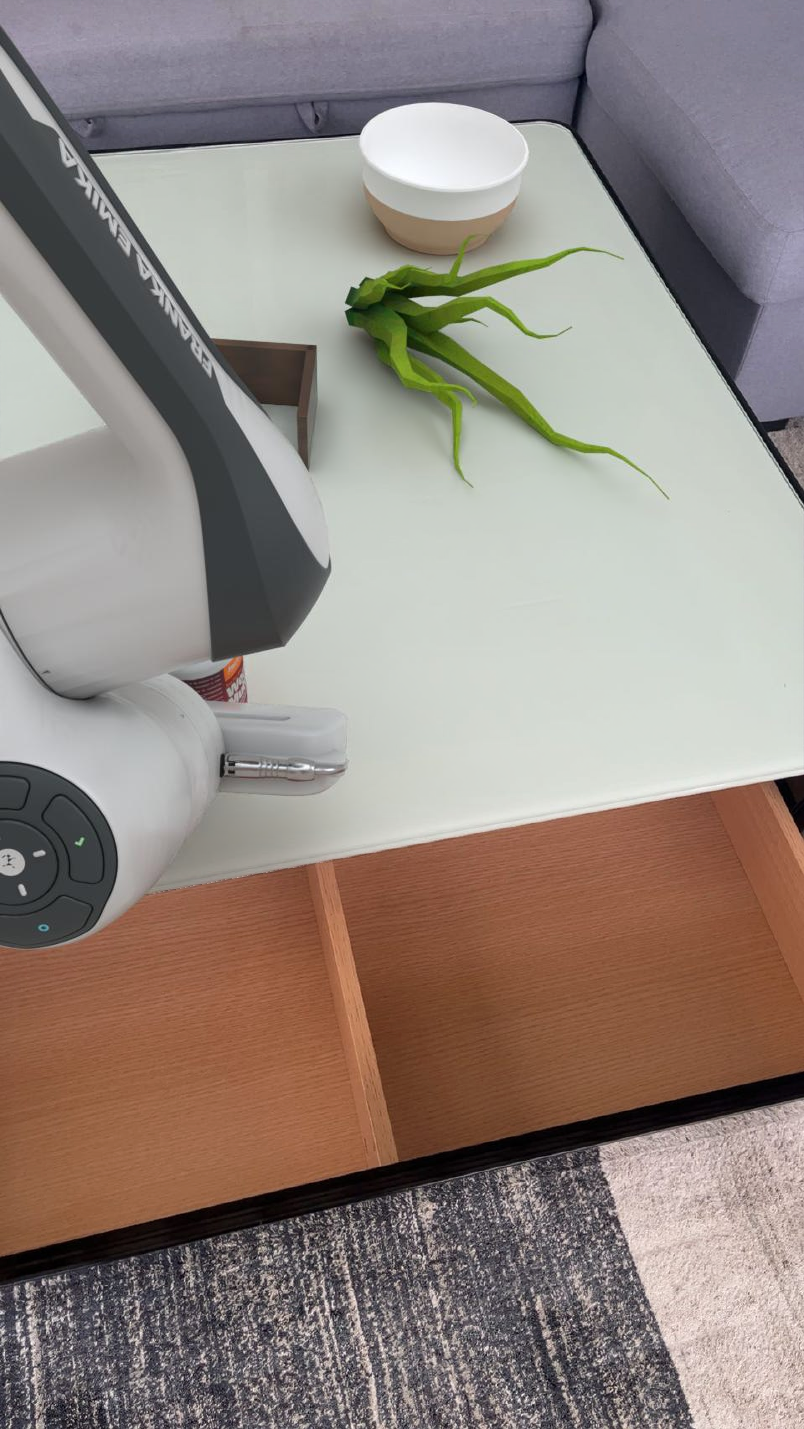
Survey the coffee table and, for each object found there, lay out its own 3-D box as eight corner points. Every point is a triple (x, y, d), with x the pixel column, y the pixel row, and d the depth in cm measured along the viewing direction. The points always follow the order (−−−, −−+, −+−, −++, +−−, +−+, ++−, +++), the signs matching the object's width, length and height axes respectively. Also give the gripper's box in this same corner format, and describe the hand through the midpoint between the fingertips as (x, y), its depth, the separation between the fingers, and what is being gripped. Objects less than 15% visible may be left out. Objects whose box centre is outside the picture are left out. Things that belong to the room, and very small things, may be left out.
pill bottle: (254, 742, 69) (242, 632, 60) (158, 756, 68) (131, 645, 59) (243, 668, 73) (230, 553, 63) (151, 680, 72) (125, 564, 62)
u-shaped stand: (174, 464, 84) (165, 408, 79) (191, 392, 89) (183, 336, 84) (308, 472, 84) (307, 417, 80) (317, 401, 89) (316, 345, 85)
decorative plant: (449, 562, 80) (469, 403, 67) (338, 326, 95) (338, 162, 83) (663, 517, 83) (719, 359, 71) (523, 297, 99) (549, 137, 87)
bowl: (497, 285, 100) (508, 204, 94) (335, 250, 102) (335, 168, 96) (532, 199, 109) (545, 120, 103) (383, 169, 111) (386, 89, 105)
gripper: (349, 710, 50) (359, 673, 64) (-85, 683, 50) (19, 652, 64) (342, 838, 51) (353, 775, 65) (-83, 813, 51) (18, 755, 65)
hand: (185, 714), depth 64 cm, fingers closed, pressing on pill bottle
